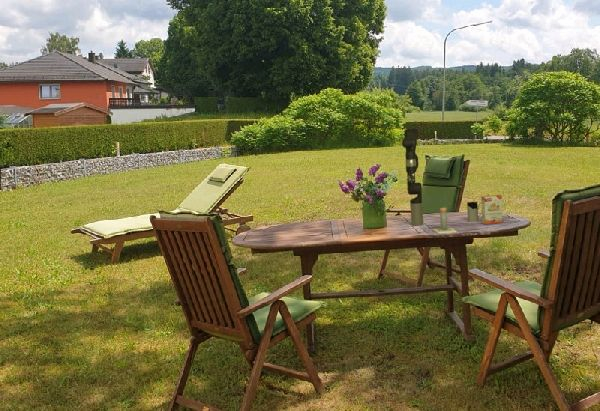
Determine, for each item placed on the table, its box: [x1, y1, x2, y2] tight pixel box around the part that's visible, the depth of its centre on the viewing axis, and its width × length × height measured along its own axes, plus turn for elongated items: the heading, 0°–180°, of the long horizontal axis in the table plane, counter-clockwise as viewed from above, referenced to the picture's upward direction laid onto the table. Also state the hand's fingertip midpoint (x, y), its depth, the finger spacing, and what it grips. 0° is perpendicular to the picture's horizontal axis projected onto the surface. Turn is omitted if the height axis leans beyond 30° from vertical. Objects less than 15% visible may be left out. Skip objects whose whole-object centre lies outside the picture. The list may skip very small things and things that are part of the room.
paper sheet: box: [432, 227, 457, 234], centre depth 424 cm, size 16×13×1 cm
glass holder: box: [466, 201, 482, 223], centre depth 460 cm, size 9×14×15 cm, turn 104°
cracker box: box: [480, 194, 503, 225], centre depth 443 cm, size 14×6×21 cm, turn 101°
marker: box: [439, 207, 448, 230], centre depth 423 cm, size 5×5×16 cm
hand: (412, 187), depth 433 cm, fingers open, 8 cm apart
